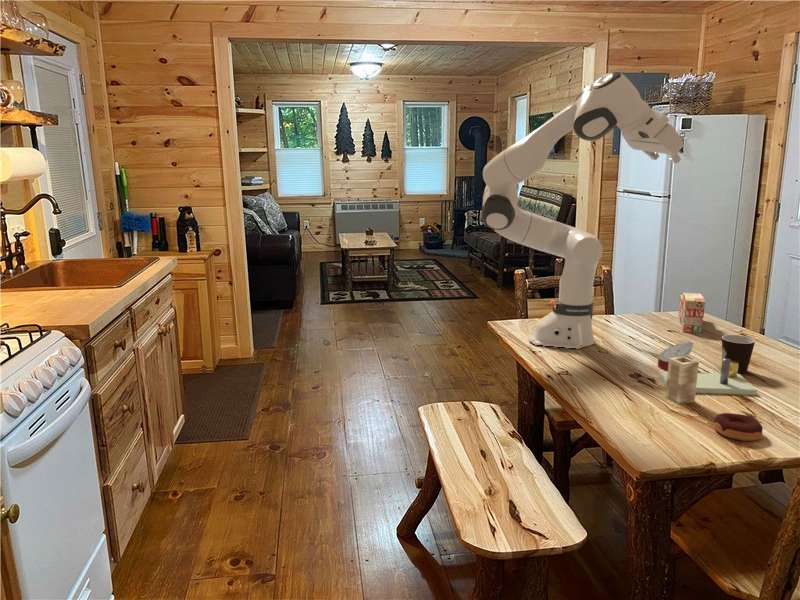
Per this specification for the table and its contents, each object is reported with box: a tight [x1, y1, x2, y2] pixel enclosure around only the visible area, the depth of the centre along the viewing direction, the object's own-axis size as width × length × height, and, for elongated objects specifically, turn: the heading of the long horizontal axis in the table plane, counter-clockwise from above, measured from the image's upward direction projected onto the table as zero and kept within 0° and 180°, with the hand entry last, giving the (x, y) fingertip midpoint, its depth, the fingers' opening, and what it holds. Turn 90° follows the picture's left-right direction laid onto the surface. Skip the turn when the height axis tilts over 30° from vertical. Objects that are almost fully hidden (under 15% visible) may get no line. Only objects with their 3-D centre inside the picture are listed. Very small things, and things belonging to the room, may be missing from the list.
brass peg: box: [729, 361, 739, 378], centre depth 167 cm, size 3×3×4 cm
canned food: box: [657, 341, 694, 372], centre depth 179 cm, size 11×10×10 cm
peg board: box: [657, 370, 758, 396], centre depth 165 cm, size 22×12×2 cm, turn 82°
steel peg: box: [720, 358, 731, 385], centre depth 162 cm, size 2×2×7 cm
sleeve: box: [664, 356, 700, 405], centre depth 155 cm, size 5×5×11 cm
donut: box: [712, 412, 764, 442], centre depth 137 cm, size 10×10×4 cm
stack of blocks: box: [678, 292, 706, 334], centre depth 222 cm, size 21×6×12 cm, turn 160°
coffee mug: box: [721, 334, 756, 376], centre depth 176 cm, size 12×9×10 cm
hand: (666, 159), depth 162 cm, fingers open, 8 cm apart
